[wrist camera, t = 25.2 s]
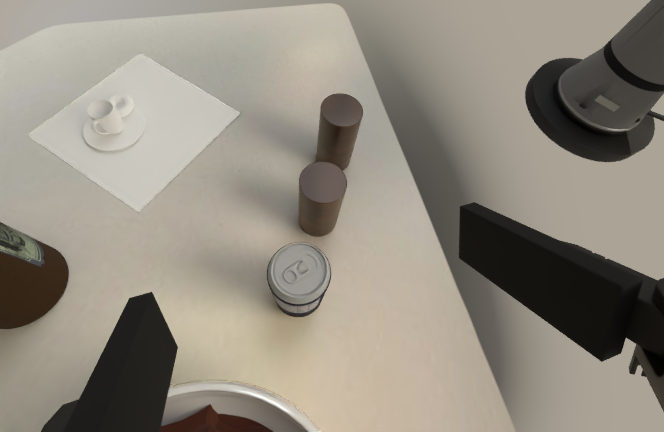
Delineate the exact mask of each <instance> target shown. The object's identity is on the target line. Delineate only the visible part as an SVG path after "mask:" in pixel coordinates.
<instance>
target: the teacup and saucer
mask: <svg viewBox="0 0 664 432" xmlns="http://www.w3.org/2000/svg"><path fill="white" fill-rule="evenodd" d="M86 114H87V115H88V117H87V118H86V119H85V121H84V123H83V125H82V129H81V134H82V137H83V140H84V141H85V142H86V143H87V144H88V145H89V146H90V147H91V148H93V149H95V150H98V151H103V152H114V151H119V150H123V149H125V148H128V147H129V146H131V145H133V144H134V143H135V142H137V141H138V140H139V139H140V138H141V136H142V135H143V133H144V131H145V128H146V119H145V117H144V115H143V113H142V112H141V111H140V110H139V109H137V108H136V107H135V101H134V99H133V97H132V96H131V95H130V94H128V93H126V92H122V91H118V92H114V93H112V94H110V95H109V96H108V97H107V98H106V99H97V100H94V101H92V102H91V103H90V104H89V105H88V106H87V107H86Z"/></svg>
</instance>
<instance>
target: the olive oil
mask: <svg viewBox="0 0 664 432" xmlns="http://www.w3.org/2000/svg"><path fill="white" fill-rule="evenodd" d="M67 281H68V266H67V263H66V260H65V259H64V257H63V256H62V255H61V254H60V253H59V252H58V251H57V250H55V249H54V248H52V247H50V246H48V245H46V244H44V243H42V242H40V241H37V240H35V239H33V238H31V237H29V236H27V235H25V234H23V233H21V232H19V231H17V230H15V229H13V228H11V227H9V226H7V225H5V224H3V223H1V222H0V329H11V328H16V327H20V326H24V325H26V324H29V323H31V322H33V321H35V320H37V319H38V318H40V317H41V316H43V315H44V314H46V313H47V312H48V311H49V310H50V309H51V308H52V307H53V306H54V305H55V304H56V303H57V301H58V300H59V299H60V297H61V296H62V294H63V292H64V290H65V288H66V285H67Z"/></svg>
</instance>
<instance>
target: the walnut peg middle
mask: <svg viewBox="0 0 664 432" xmlns="http://www.w3.org/2000/svg"><path fill="white" fill-rule="evenodd" d="M346 188H347V179H346V176H345V174H344V173H343V171H342V170H341V169H340V168H339V167H338V166H336V165H334V164H332V163H329V162H315V163H312V164H310V165H308V166H307V167H306V168H305V169H304V170H303V171H302V173H301V175H300V178H299V223H300V226H301V228H302V229H303V230H304V231H305V232H306V233H308V234H309V235H312V236H324V235H326V234H328V233H330V232H331V231H332V230H333V228H334V227H335V224H336V221H337V218H338V214H339V211H340V208H341V204H342V201H343V198H344V194H345V191H346Z"/></svg>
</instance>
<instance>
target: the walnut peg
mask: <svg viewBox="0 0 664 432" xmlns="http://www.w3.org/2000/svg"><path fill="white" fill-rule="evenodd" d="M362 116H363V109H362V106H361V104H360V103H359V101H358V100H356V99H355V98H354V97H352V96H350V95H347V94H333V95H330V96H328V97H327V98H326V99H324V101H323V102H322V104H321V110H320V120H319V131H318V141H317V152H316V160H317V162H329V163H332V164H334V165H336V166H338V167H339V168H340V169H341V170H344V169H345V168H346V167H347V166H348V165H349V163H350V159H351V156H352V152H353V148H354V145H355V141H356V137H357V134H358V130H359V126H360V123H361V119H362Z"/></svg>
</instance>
